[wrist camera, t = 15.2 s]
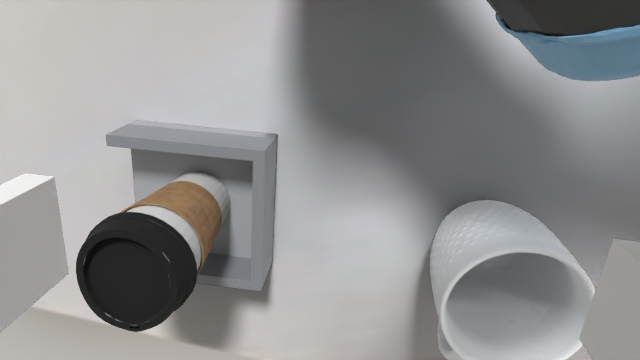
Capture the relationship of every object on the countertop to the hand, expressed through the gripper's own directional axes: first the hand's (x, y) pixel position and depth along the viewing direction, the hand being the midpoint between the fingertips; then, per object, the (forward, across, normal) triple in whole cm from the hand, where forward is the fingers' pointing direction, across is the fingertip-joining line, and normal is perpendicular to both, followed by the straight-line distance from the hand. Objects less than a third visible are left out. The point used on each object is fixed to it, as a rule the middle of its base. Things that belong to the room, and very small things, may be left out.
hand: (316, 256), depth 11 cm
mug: (+32, +13, -15) cm, 38 cm away
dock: (+32, -14, -13) cm, 37 cm away
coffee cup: (+30, -14, -13) cm, 36 cm away
